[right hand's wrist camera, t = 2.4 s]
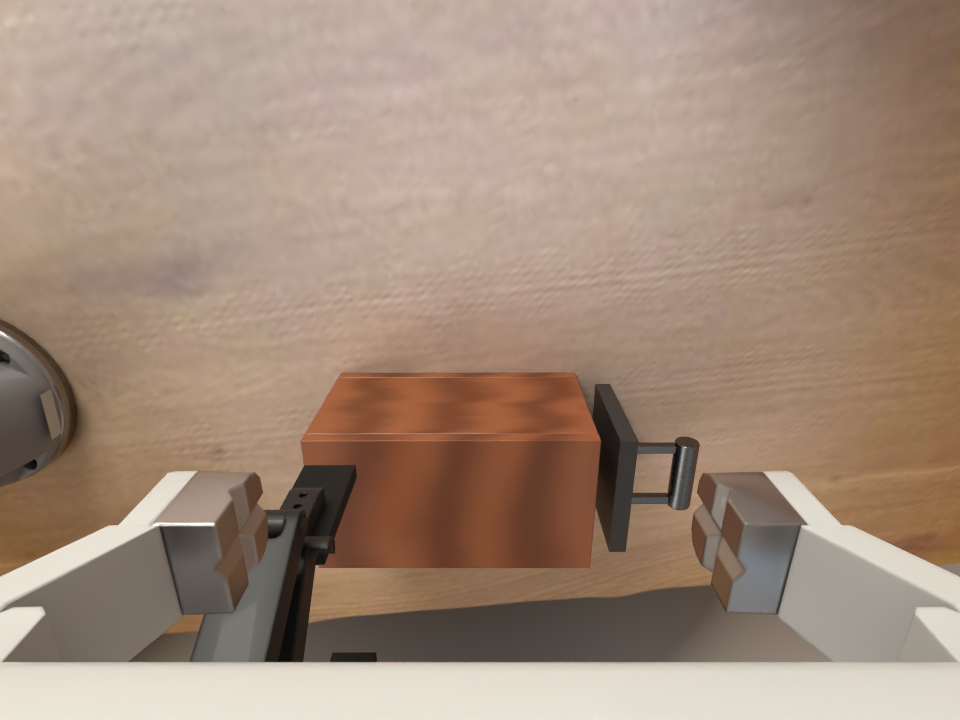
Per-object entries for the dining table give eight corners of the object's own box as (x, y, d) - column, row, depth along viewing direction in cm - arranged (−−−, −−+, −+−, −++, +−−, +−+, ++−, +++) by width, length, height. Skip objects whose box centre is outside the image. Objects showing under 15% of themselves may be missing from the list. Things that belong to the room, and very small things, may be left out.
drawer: (676, 383, 45) (720, 440, 37) (662, 479, 49) (699, 552, 40) (386, 384, 45) (364, 441, 37) (393, 480, 49) (375, 552, 40)
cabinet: (575, 372, 46) (601, 440, 36) (568, 479, 50) (589, 568, 40) (340, 372, 46) (300, 440, 36) (352, 479, 50) (318, 568, 40)
